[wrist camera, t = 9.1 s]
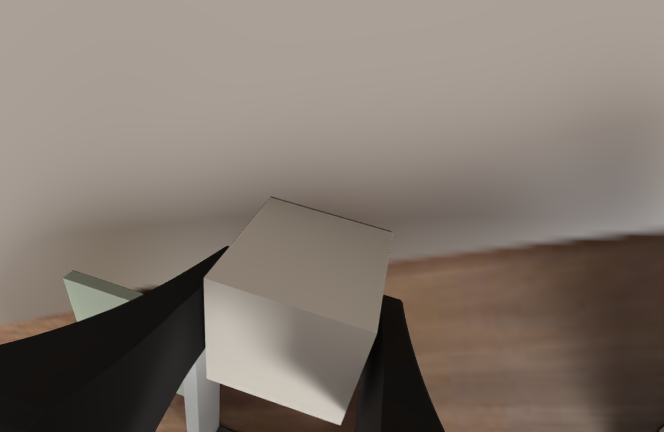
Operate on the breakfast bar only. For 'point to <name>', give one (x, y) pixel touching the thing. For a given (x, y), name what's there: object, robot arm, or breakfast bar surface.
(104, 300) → the pad
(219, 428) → the tray
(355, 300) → the block
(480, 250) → the breakfast bar surface
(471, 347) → the breakfast bar surface
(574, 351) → the breakfast bar surface
